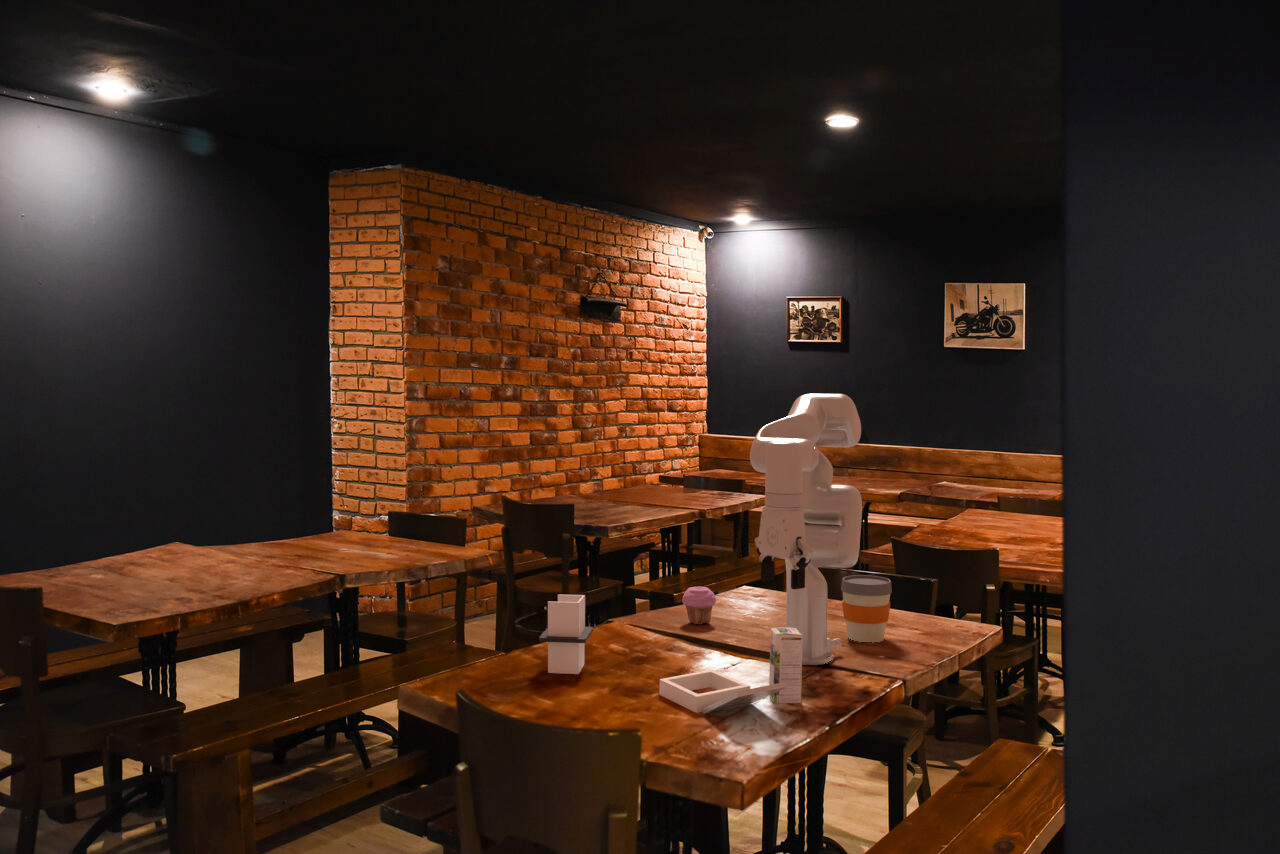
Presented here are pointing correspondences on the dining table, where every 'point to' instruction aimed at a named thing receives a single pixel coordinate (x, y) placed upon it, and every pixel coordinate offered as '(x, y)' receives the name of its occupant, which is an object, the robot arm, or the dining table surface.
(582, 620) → the white flanged box
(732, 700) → the white square slab
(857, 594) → the reusable coffee cup
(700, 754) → the dining table surface
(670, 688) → the white piece
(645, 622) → the dining table surface
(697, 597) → the cupcake
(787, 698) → the syrup box
